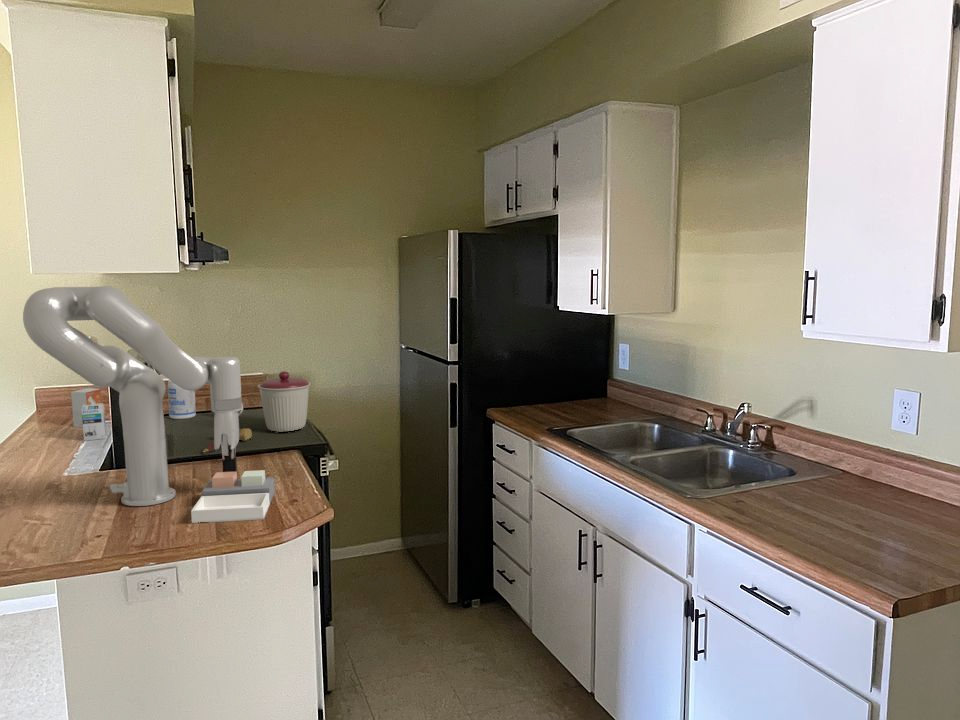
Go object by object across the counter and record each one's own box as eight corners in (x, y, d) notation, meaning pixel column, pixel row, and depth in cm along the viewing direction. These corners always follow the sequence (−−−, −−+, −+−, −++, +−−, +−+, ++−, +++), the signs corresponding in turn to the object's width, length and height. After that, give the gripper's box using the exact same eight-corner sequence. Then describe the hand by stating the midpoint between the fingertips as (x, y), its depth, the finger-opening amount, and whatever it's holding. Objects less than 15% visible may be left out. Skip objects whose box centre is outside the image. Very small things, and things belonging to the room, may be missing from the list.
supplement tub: (166, 420, 273) (164, 381, 271) (172, 414, 282) (170, 377, 280) (193, 419, 275) (191, 381, 273) (198, 413, 284) (196, 377, 282)
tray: (191, 523, 165) (191, 510, 165) (202, 508, 176) (201, 496, 175) (263, 519, 168) (263, 507, 167) (269, 504, 178) (269, 492, 178)
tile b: (241, 486, 179) (241, 476, 179) (245, 480, 184) (244, 471, 184) (262, 485, 180) (262, 475, 180) (265, 479, 185) (264, 470, 185)
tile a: (212, 487, 178) (211, 478, 178) (216, 481, 183) (216, 472, 183) (233, 486, 179) (232, 477, 179) (237, 480, 184) (236, 471, 184)
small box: (88, 427, 261) (85, 392, 260) (73, 426, 262) (70, 391, 261) (103, 422, 269) (101, 388, 267) (89, 422, 270) (86, 387, 269)
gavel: (217, 446, 223) (188, 444, 225) (218, 460, 224) (189, 458, 226) (251, 426, 243) (224, 425, 245) (252, 439, 244) (226, 438, 246)
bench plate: (202, 507, 176) (201, 491, 176) (210, 495, 185) (209, 480, 185) (270, 503, 179) (269, 488, 178) (274, 492, 187) (274, 477, 187)
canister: (289, 438, 245) (286, 376, 242) (248, 432, 252) (245, 373, 250) (322, 426, 261) (320, 369, 258) (283, 422, 269) (281, 366, 266)
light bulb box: (105, 439, 244) (103, 408, 243) (83, 441, 241) (80, 409, 240) (106, 432, 254) (104, 402, 252) (84, 434, 251) (82, 404, 250)
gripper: (216, 399, 192) (220, 465, 195) (205, 410, 178) (209, 482, 180) (246, 398, 194) (249, 464, 196) (236, 409, 179) (240, 481, 182)
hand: (230, 473), depth 188 cm, fingers closed
